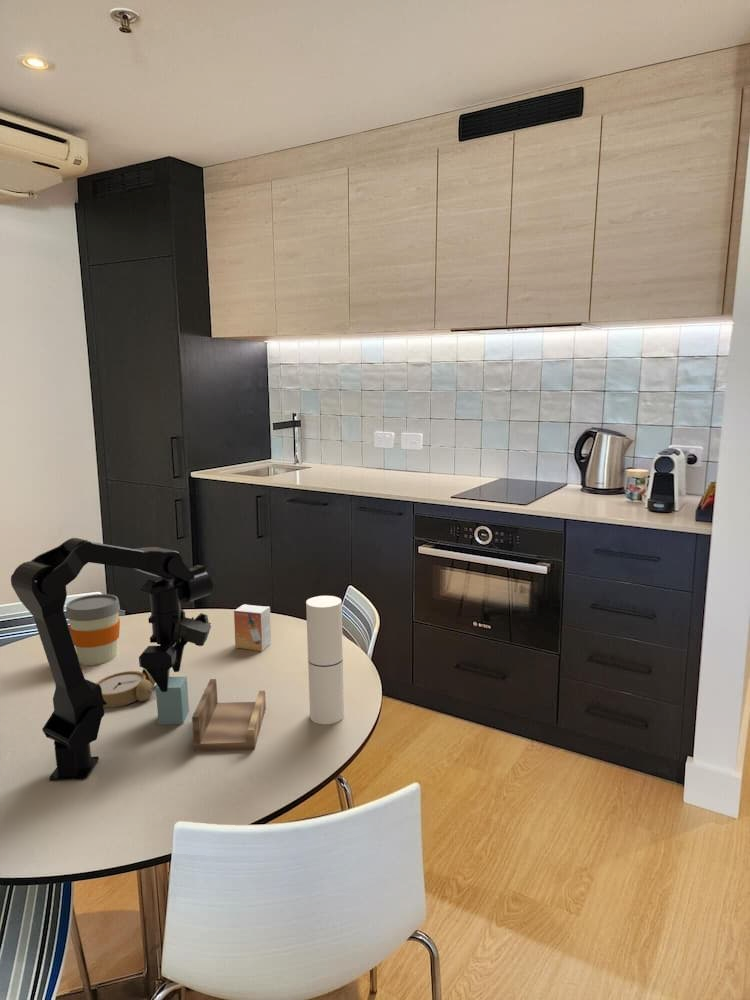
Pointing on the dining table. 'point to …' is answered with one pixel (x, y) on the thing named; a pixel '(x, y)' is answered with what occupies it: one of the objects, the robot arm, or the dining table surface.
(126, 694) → the alarm clock
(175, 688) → the teal block
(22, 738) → the dining table surface
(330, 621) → the cylindrical container
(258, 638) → the small box
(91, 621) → the reusable coffee cup
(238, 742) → the cleat board
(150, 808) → the dining table surface
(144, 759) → the dining table surface
